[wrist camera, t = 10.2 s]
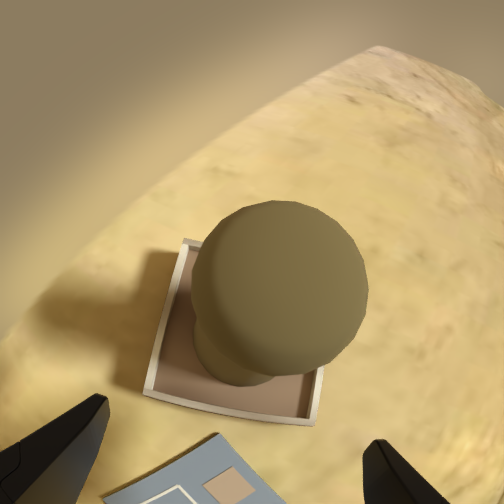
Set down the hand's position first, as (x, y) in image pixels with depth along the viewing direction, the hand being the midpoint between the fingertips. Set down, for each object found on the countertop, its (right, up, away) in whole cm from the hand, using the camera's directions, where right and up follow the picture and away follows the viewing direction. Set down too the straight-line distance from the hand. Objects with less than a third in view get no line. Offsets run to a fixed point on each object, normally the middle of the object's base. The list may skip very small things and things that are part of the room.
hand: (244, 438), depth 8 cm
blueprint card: (-4, -11, +5) cm, 12 cm away
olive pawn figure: (0, +1, +9) cm, 9 cm away
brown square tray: (0, 0, +11) cm, 11 cm away
